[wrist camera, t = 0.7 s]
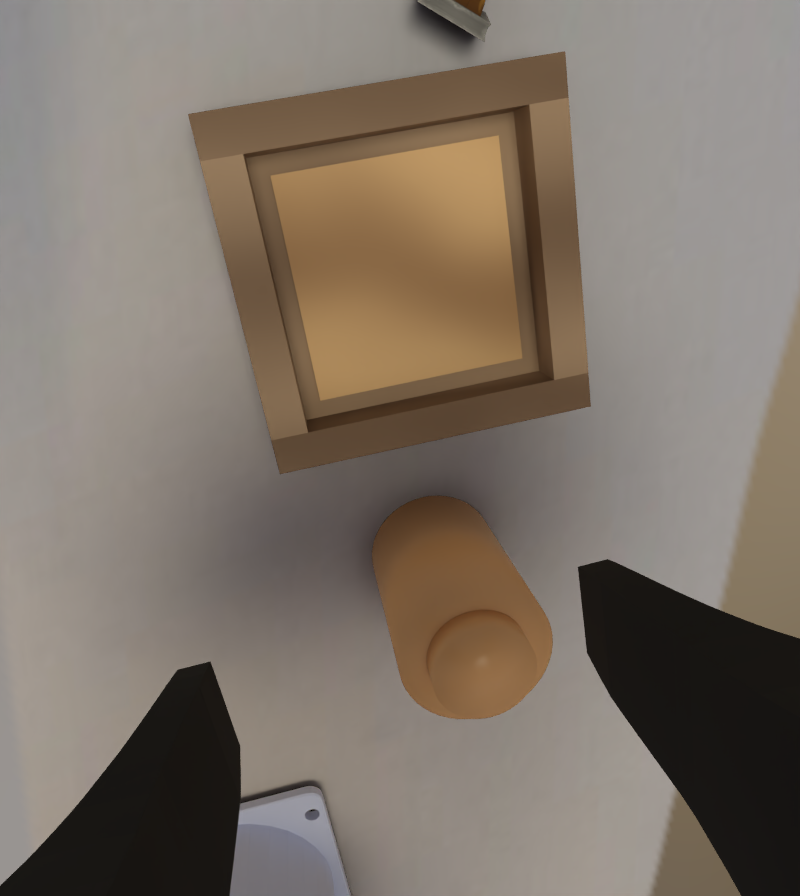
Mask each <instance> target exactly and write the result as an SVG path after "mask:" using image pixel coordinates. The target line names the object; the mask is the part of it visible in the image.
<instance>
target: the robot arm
mask: <svg viewBox="0 0 800 896" xmlns="http://www.w3.org/2000/svg"><path fill="white" fill-rule="evenodd" d="M578 572H579V581H580V590H581V600H582V609H583V619H584V628H585V637H586V647H587V653H588V655H589V657H590V659H591V661H592V663H593V665H594V667H595V669H596V671H597V672H598V674H599V676H600V678H601V680H602V682H603V684H604V685H605V687H606V689H607V691H608V693H609V694H610V696H611V698H612V699H613V701H614V702H615V703H616V705H617V706H618V708H619V709H620V711H621V712H622V713H623V715H624V716H625V718H626V719H627V720H628V722H629V723H630V725H631V726H632V727H633V729H634V730H635V732H636V733H637V734H638V736H639V737H640V739H641V740H642V741H643V743H644V744H645V745H646V747H647V748H648V750H649V751H650V752H651V754H652V755H653V757H654V758H655V759H656V761H657V762H658V763H659V765H660V766H661V768H662V769H663V770H664V772H665V773H666V774H667V776H668V777H669V779H670V780H671V781H672V783H673V784H674V786H675V787H676V788H677V790H678V791H679V792H680V794H681V795H682V797H683V798H684V800H685V801H686V803H687V804H688V806H689V807H690V809H691V810H692V812H693V813H694V815H695V816H696V818H697V820H698V821H699V823H700V825H701V826H702V828H703V830H704V832H705V833H706V835H707V837H708V838H709V840H710V842H711V843H712V845H713V847H714V849H715V850H716V852H717V854H718V856H719V857H720V859H721V860H722V862H723V864H724V866H725V867H726V869H727V871H728V873H729V874H730V876H731V878H732V880H733V882H734V883H735V885H736V887H737V889H738V891H739V892H740V894H741V896H800V639H799V638H796V637H793V636H789V635H786V634H783V633H780V632H777V631H774V630H771V629H768V628H765V627H762V626H759V625H756V624H754V623H751V622H748V621H745V620H743V619H741V618H738V617H735V616H733V615H730V614H728V613H725V612H723V611H720V610H718V609H715V608H713V607H711V606H708V605H706V604H704V603H701V602H699V601H697V600H694V599H692V598H690V597H688V596H686V595H683V594H681V593H679V592H677V591H675V590H673V589H670V588H668V587H666V586H664V585H662V584H660V583H658V582H656V581H654V580H651V579H649V578H647V577H645V576H643V575H641V574H639V573H637V572H635V571H633V570H631V569H628V568H626V567H624V566H622V565H620V564H618V563H615V562H613V561H610V560H608V559H607V560H603V561H599V562H595V563H591V564H587V565H584V566H580V567H578ZM240 801H241V767H240V745H239V742H238V739H237V736H236V733H235V730H234V727H233V725H232V722H231V719H230V716H229V713H228V710H227V707H226V705H225V702H224V699H223V696H222V693H221V690H220V688H219V685H218V682H217V679H216V676H215V673H214V670H213V668H212V665H211V662H207V663H203V664H199V665H195V666H191V667H187V668H183V669H179V670H177V672H176V673H175V674H174V676H173V677H172V678H171V680H170V681H169V683H168V684H167V685H166V687H165V688H164V690H163V691H162V693H161V694H160V696H159V697H158V699H157V700H156V701H155V703H154V704H153V706H152V707H151V709H150V710H149V711H148V713H147V714H146V716H145V717H144V719H143V720H142V721H141V723H140V724H139V726H138V727H137V728H136V730H135V731H134V733H133V734H132V735H131V737H130V738H129V740H128V741H127V742H126V744H125V745H124V747H123V748H122V749H121V751H120V752H119V753H118V755H117V756H116V757H115V758H114V760H113V761H112V762H111V764H110V765H109V766H108V767H107V769H106V770H105V771H104V772H103V774H102V775H101V776H100V777H99V779H98V780H97V781H96V782H95V784H94V785H93V786H92V788H91V789H90V790H89V791H88V793H87V794H86V795H85V796H84V798H83V799H82V800H81V801H80V802H79V804H78V805H77V806H76V807H75V808H74V810H73V811H72V812H71V813H70V814H69V815H68V816H67V818H66V819H65V820H64V821H63V822H62V823H61V824H60V825H59V827H58V828H57V829H56V830H55V831H54V832H53V833H52V834H51V835H50V836H49V837H48V838H47V839H46V840H45V842H44V843H43V844H42V845H41V846H40V847H39V848H38V849H37V850H36V851H35V852H34V853H33V854H32V855H31V856H30V857H29V858H28V859H27V860H26V862H25V863H23V864H22V865H21V866H20V867H19V868H18V869H17V870H16V871H15V872H14V873H13V874H12V875H11V876H10V877H9V878H8V879H7V880H6V881H5V882H4V883H3V884H2V885H1V886H0V896H351V892H350V889H349V885H348V882H347V878H346V875H345V871H344V868H343V864H342V860H341V857H340V853H339V850H338V846H337V843H336V839H335V836H334V832H333V829H332V825H331V822H330V818H329V814H328V811H327V807H326V804H325V800H324V797H323V793H322V792H321V790H320V789H319V788H317V787H314V786H306V787H302V788H298V789H294V790H291V791H287V792H283V793H279V794H275V795H272V796H268V797H264V798H260V799H256V800H253V801H249V802H245V803H241V804H240ZM311 809H315V811H308V810H311Z"/></svg>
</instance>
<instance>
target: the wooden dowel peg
mask: <svg viewBox="0 0 800 896" xmlns="http://www.w3.org/2000/svg"><path fill="white" fill-rule="evenodd" d="M372 562H373V568H374V572H375V576H376V580H377V584H378V588H379V592H380V596H381V600H382V604H383V608H384V612H385V616H386V620H387V624H388V628H389V632H390V636H391V640H392V644H393V649H394V653H395V657H396V661H397V665H398V669H399V673H400V676H401V680H402V683H403V685H404V687H405V689H406V690H407V692H408V693H409V695H410V696H411V697H412V698H413V699H414V700H415V701H416V702H417V703H418V704H419V705H420V706H422V707H423V708H425V709H426V710H428V711H430V712H432V713H435V714H437V715H440V716H444V717H448V718H455V719H481V718H488V717H493V716H496V715H499V714H501V713H504V712H506V711H507V710H509V709H511V708H512V707H514V706H515V705H517V704H518V703H519V702H520V701H521V700H522V699H523V698H524V697H525V696H526V695H527V694H528V693H529V692H530V691H531V690H532V689H533V688H534V687H535V685H536V684H537V683H538V681H539V680H540V679H541V677H542V675H543V674H544V672H545V670H546V668H547V666H548V663H549V660H550V657H551V653H552V645H553V641H552V631H551V626H550V623H549V621H548V618H547V616H546V615H545V613H544V611H543V610H542V608H541V607H540V605H539V603H538V602H537V600H536V599H535V597H534V596H533V594H532V593H531V591H530V590H529V588H528V587H527V585H526V583H525V582H524V580H523V579H522V577H521V576H520V574H519V573H518V571H517V570H516V568H515V567H514V565H513V563H512V562H511V560H510V559H509V557H508V556H507V554H506V553H505V551H504V550H503V548H502V547H501V545H500V543H499V542H498V540H497V539H496V537H495V536H494V534H493V533H492V531H491V530H490V528H489V526H488V525H487V523H486V522H485V520H484V519H483V517H482V516H481V515H480V514H479V513H478V512H477V511H476V510H475V509H474V508H473V507H472V506H470V505H469V504H467V503H465V502H463V501H461V500H459V499H456V498H452V497H448V496H428V497H422V498H419V499H415V500H413V501H410V502H408V503H406V504H404V505H403V506H401V507H399V508H398V509H397V510H395V511H394V512H393V513H392V514H391V515H390V516H389V517H388V518H387V519H386V520H385V521H384V523H383V524H382V525H381V527H380V529H379V530H378V533H377V535H376V537H375V540H374V543H373V549H372Z"/></svg>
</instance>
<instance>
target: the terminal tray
mask: <svg viewBox="0 0 800 896" xmlns="http://www.w3.org/2000/svg"><path fill="white" fill-rule="evenodd" d="M188 116H189V120H190V124H191V127H192V131H193V135H194V139H195V143H196V147H197V151H198V155H199V159H200V163H201V167H202V171H203V174H204V178H205V182H206V186H207V190H208V194H209V198H210V202H211V206H212V210H213V214H214V218H215V221H216V225H217V229H218V233H219V237H220V241H221V245H222V249H223V253H224V257H225V261H226V265H227V269H228V272H229V276H230V280H231V284H232V288H233V292H234V296H235V300H236V304H237V308H238V312H239V316H240V319H241V323H242V327H243V331H244V335H245V339H246V343H247V347H248V351H249V355H250V359H251V363H252V367H253V370H254V374H255V378H256V382H257V386H258V390H259V394H260V398H261V402H262V406H263V410H264V414H265V417H266V421H267V425H268V429H269V433H270V437H271V441H272V445H273V449H274V453H275V457H276V461H277V464H278V468H279V472H280V474H283V473H288V472H292V471H297V470H301V469H306V468H311V467H315V466H320V465H324V464H329V463H333V462H338V461H343V460H347V459H352V458H356V457H361V456H366V455H370V454H375V453H379V452H384V451H388V450H393V449H398V448H402V447H407V446H411V445H416V444H420V443H425V442H430V441H434V440H439V439H443V438H448V437H452V436H457V435H462V434H466V433H471V432H475V431H480V430H485V429H489V428H494V427H498V426H503V425H507V424H512V423H517V422H521V421H526V420H530V419H535V418H539V417H544V416H549V415H553V414H558V413H562V412H567V411H571V410H576V409H581V408H585V407H590V406H591V404H590V390H589V377H588V363H587V349H586V335H585V321H584V307H583V293H582V279H581V265H580V252H579V238H578V224H577V210H576V196H575V182H574V168H573V154H572V140H571V127H570V113H569V99H568V85H567V71H566V57H565V52H559V53H553V54H547V55H541V56H535V57H529V58H523V59H517V60H511V61H505V62H499V63H493V64H487V65H481V66H475V67H469V68H463V69H457V70H451V71H445V72H439V73H433V74H427V75H421V76H415V77H409V78H403V79H397V80H391V81H385V82H378V83H372V84H366V85H360V86H354V87H348V88H342V89H336V90H330V91H324V92H318V93H312V94H306V95H300V96H294V97H288V98H282V99H276V100H270V101H264V102H258V103H252V104H246V105H240V106H234V107H228V108H222V109H216V110H210V111H204V112H198V113H192V114H188Z"/></svg>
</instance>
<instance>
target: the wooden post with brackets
mask: <svg viewBox="0 0 800 896" xmlns="http://www.w3.org/2000/svg"><path fill="white" fill-rule="evenodd" d="M418 2H419V3H421V4H423V5H424V6H426V7H427V8H429V9H431V10H432V11H434V12H436V13H437V14H439V15H441V16H442V17H444V18H446V19H447V20H449V21H451V22H452V23H454V24H456V25H457V26H459V27H461V28H462V29H464V30H466V31H467V32H469V33H470V34H472V35H474V36H475V37H477V38H479V39H480V40H482V41H484V42H485V34H486V31H487V29H488V27H489V26H490V25H491V24H490V21H489V19H488V17H487V15H486V13H485V12H484V11H482V10H483V7H484V3H485V0H418Z"/></svg>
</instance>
